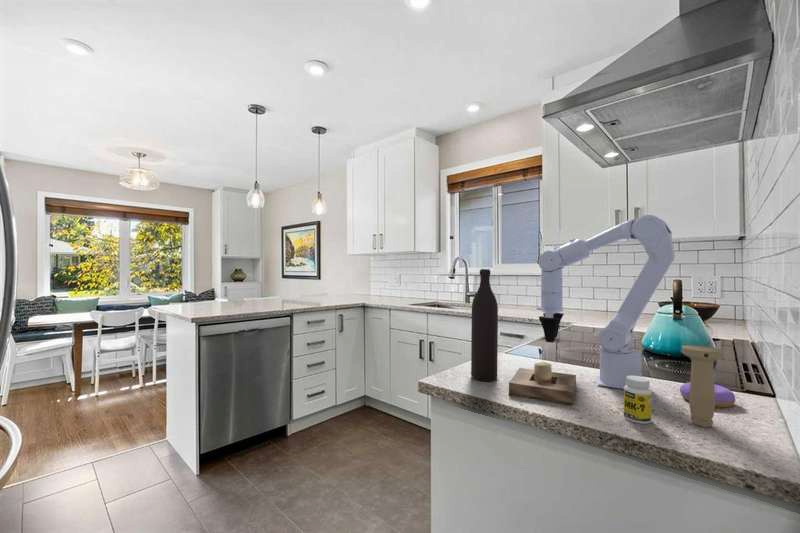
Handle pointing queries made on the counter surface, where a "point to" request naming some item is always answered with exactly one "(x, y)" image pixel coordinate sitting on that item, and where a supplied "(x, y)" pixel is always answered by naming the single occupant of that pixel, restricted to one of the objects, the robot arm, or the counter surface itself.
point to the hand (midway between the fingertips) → (551, 339)
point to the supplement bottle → (637, 400)
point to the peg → (542, 372)
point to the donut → (721, 395)
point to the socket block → (543, 387)
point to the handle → (702, 383)
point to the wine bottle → (484, 331)
